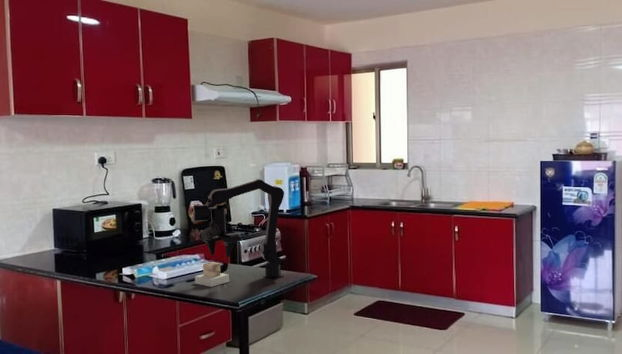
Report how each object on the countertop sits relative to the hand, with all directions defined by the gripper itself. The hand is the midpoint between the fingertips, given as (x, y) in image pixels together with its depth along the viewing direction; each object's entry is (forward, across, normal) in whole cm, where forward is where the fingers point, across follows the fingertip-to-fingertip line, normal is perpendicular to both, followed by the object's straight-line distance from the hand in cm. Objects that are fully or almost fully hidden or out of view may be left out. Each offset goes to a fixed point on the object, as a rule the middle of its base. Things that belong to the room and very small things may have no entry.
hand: (220, 256), depth 244 cm
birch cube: (+8, -2, -3) cm, 9 cm away
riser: (+11, -2, -3) cm, 11 cm away
